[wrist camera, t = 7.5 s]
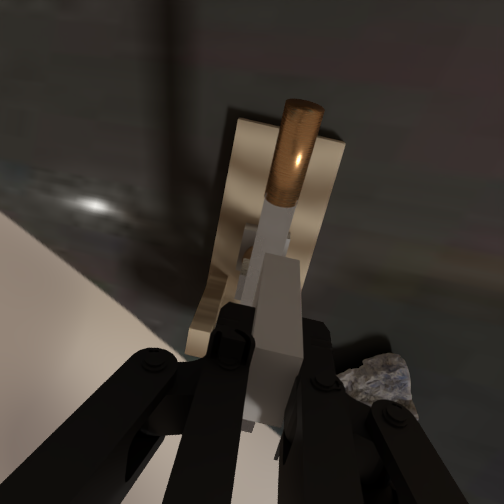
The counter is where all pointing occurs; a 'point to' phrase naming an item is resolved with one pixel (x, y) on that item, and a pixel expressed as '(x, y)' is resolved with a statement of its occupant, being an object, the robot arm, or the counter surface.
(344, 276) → the counter surface
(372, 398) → the rock
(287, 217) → the lever
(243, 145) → the tan angle plate
